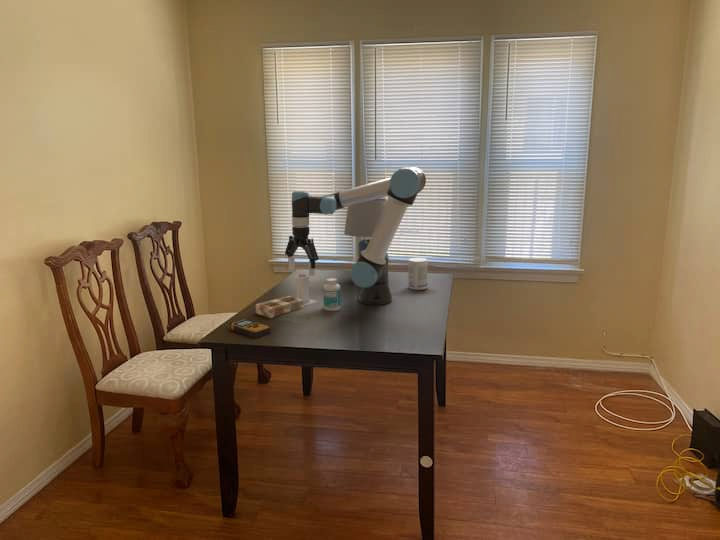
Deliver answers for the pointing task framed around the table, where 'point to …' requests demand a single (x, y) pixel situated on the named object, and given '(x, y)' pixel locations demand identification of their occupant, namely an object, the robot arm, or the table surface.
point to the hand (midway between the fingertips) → (301, 273)
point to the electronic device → (249, 328)
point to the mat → (310, 302)
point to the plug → (303, 287)
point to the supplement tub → (417, 273)
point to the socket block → (279, 306)
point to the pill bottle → (332, 295)
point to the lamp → (364, 220)
